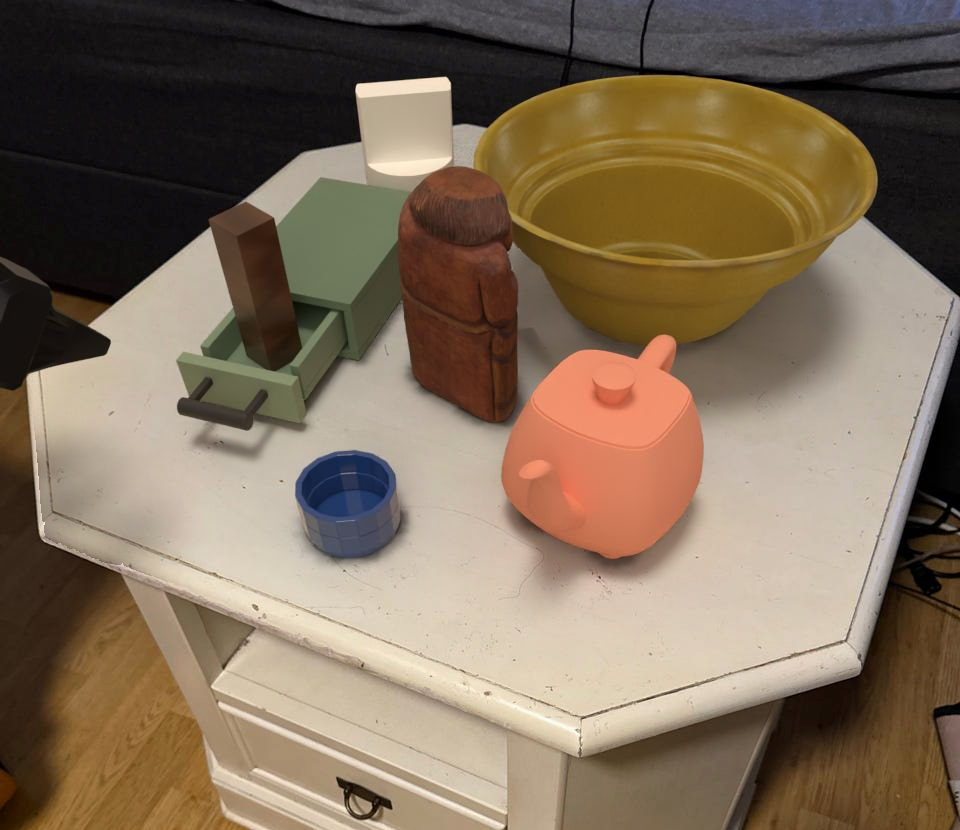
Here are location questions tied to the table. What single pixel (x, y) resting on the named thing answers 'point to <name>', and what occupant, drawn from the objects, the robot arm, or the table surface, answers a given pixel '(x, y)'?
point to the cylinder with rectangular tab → (405, 130)
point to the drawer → (259, 371)
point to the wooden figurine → (461, 290)
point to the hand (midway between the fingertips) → (70, 318)
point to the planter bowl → (672, 197)
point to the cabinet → (345, 254)
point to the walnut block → (257, 284)
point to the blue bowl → (348, 503)
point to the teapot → (607, 450)
